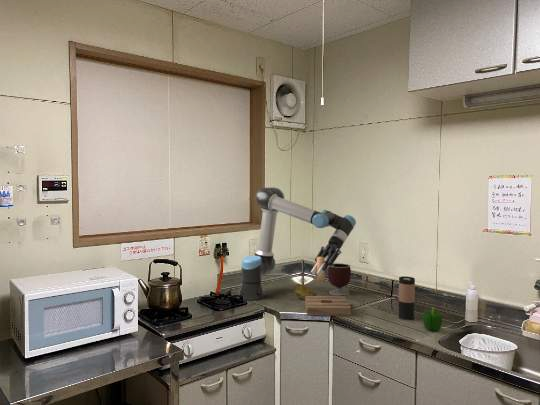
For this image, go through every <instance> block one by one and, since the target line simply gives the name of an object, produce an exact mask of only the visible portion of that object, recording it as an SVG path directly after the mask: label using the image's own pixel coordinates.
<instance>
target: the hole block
mask: <svg viewBox="0 0 540 405" xmlns="http://www.w3.org/2000/svg"><path fill="white" fill-rule="evenodd" d="M304 304H305V309H306V315H307V316H338V315H351V316H352V307H351V305H350V303H349V302H348V299H347V298H346V295H345V296H337V295H331V296H330V295H316V296H305V300H304Z"/></svg>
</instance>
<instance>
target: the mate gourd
mask: <svg viewBox="0 0 540 405" xmlns="http://www.w3.org/2000/svg"><path fill="white" fill-rule="evenodd" d="M327 268H328V269H327V278H328V281H329V283H330V285H331V286H333V287H335V288H336V289H331V290H329V291H328V293H329V295H331V296H340V295H345V296H348V295H347V294H349V295H350V291H349V290H345V289H343V287H345V286H348V285H349V283H350V282H351V277H352V268H351V264H346V263H333V264H332V266H330V265H329V266H328V267H327Z"/></svg>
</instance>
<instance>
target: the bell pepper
mask: <svg viewBox="0 0 540 405" xmlns="http://www.w3.org/2000/svg"><path fill="white" fill-rule="evenodd" d="M435 309H436V308H435V307H434V306H433V307H432V308H431V310H427V311H423V312H422V321H423V323H422V324H423V326H424V329H425V330H426V331H429V332H430V331H431V332H439V331H440V329H441V328H442V324H443V315H442V313H439V312H438V311H435Z"/></svg>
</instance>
